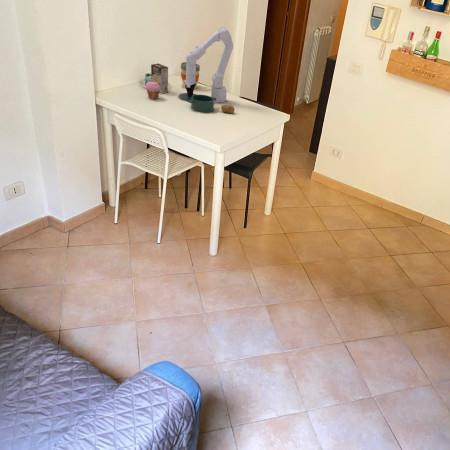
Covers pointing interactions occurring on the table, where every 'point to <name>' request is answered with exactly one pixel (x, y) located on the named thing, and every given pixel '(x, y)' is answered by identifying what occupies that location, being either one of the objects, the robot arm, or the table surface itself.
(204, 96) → the pot
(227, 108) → the brown cylinder
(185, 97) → the pot lid
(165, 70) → the coffee box
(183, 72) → the reusable coffee cup
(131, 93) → the table surface
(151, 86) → the cupcake
